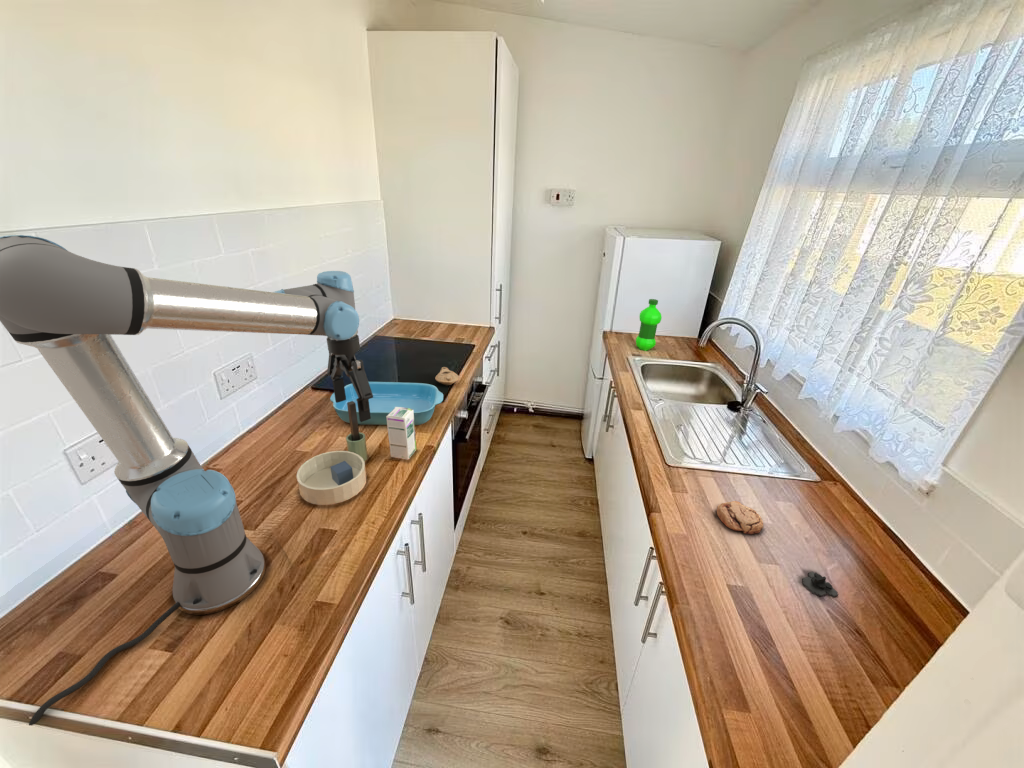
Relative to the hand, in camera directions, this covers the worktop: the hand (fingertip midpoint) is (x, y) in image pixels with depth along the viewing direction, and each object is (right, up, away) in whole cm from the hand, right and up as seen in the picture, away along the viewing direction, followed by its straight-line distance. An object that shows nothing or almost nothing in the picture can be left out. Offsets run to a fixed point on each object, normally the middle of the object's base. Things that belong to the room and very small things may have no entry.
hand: (352, 410), depth 116 cm
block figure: (+108, -36, -24) cm, 117 cm away
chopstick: (-1, -14, +7) cm, 16 cm away
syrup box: (+11, -14, +11) cm, 21 cm away
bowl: (-4, -20, -3) cm, 20 cm away
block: (-2, -18, -2) cm, 18 cm away
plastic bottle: (+110, +25, +102) cm, 152 cm away
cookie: (+100, -28, -7) cm, 104 cm away
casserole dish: (+1, -3, +32) cm, 32 cm away
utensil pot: (-1, -15, +7) cm, 17 cm away
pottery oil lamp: (+17, +8, +56) cm, 59 cm away
